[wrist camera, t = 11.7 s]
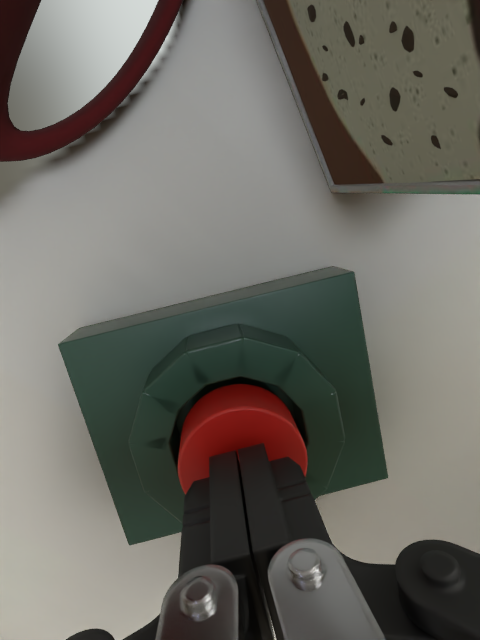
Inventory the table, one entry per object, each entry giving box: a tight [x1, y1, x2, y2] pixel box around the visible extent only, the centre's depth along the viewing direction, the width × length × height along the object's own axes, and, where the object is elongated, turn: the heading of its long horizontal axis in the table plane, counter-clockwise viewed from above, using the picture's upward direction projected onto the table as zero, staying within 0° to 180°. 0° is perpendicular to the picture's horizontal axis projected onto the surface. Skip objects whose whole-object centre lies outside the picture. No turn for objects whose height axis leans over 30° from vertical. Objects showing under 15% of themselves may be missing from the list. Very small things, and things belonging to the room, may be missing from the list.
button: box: [178, 384, 308, 495], centre depth 12 cm, size 4×4×2 cm
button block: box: [58, 266, 388, 545], centre depth 14 cm, size 10×8×4 cm
